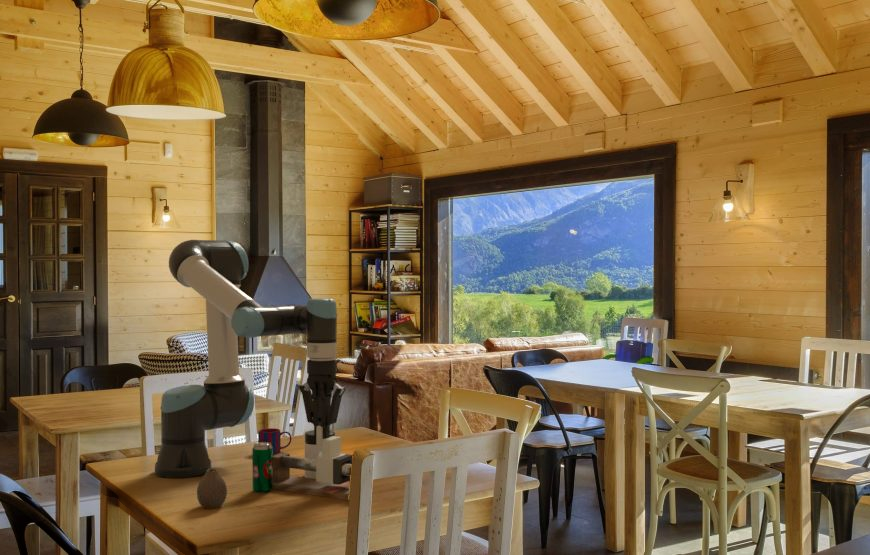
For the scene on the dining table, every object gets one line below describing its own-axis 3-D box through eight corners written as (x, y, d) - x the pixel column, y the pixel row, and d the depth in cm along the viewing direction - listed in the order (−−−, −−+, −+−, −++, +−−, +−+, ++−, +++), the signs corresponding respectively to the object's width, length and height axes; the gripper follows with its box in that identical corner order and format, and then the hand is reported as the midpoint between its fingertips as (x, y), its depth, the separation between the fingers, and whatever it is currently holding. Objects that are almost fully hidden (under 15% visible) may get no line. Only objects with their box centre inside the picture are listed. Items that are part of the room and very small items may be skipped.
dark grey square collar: (332, 483, 212) (332, 459, 212) (346, 478, 218) (346, 454, 218) (339, 484, 211) (339, 459, 211) (353, 479, 217) (353, 454, 217)
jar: (311, 481, 226) (311, 436, 225) (298, 475, 232) (298, 431, 232) (341, 477, 230) (341, 433, 230) (328, 471, 237) (328, 428, 237)
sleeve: (316, 481, 215) (316, 439, 214) (330, 476, 220) (330, 435, 220) (332, 483, 212) (333, 441, 212) (346, 478, 218) (346, 437, 218)
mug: (260, 450, 264) (260, 428, 264) (292, 450, 264) (292, 428, 264) (256, 454, 257) (256, 432, 257) (289, 454, 258) (289, 432, 257)
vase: (199, 512, 198) (199, 474, 197) (195, 504, 204) (194, 468, 204) (229, 509, 200) (229, 471, 200) (224, 501, 207) (224, 465, 207)
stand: (265, 487, 219) (265, 458, 219) (289, 479, 228) (289, 451, 228) (350, 500, 208) (350, 469, 208) (372, 490, 217) (372, 461, 216)
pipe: (277, 468, 222) (277, 456, 222) (284, 465, 225) (284, 453, 225) (354, 478, 211) (354, 466, 211) (361, 476, 214) (361, 463, 214)
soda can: (250, 489, 218) (250, 442, 218) (270, 487, 220) (270, 441, 220) (254, 494, 213) (254, 446, 213) (274, 492, 215) (274, 445, 215)
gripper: (292, 359, 217) (292, 451, 217) (335, 361, 211) (334, 456, 211) (309, 356, 223) (309, 445, 224) (351, 358, 217) (351, 450, 218)
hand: (321, 450), depth 217 cm, fingers closed
